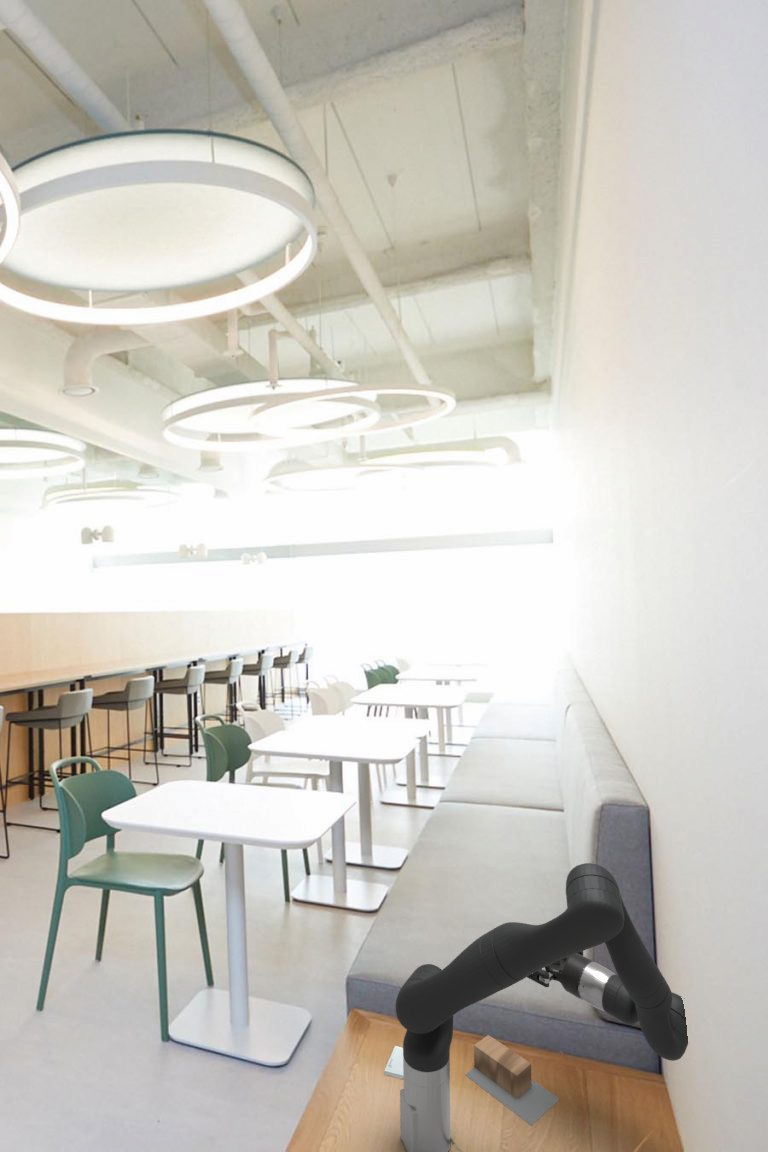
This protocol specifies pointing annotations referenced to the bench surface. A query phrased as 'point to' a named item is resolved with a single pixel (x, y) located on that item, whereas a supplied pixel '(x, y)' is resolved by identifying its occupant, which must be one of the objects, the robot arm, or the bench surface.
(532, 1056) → the bench surface
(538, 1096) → the rubber mat
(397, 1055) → the hard drive
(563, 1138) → the bench surface
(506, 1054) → the light brown wooden block
